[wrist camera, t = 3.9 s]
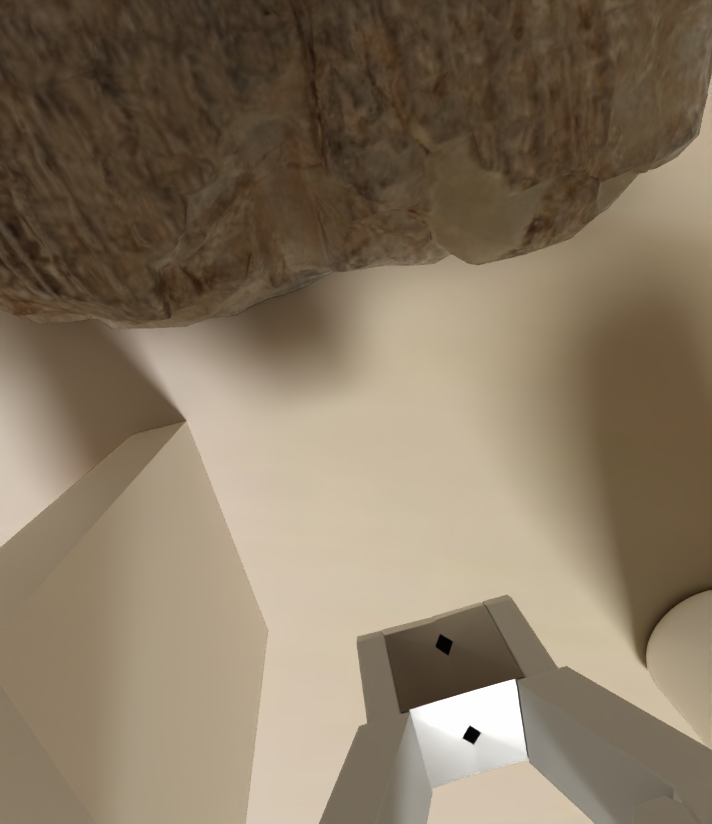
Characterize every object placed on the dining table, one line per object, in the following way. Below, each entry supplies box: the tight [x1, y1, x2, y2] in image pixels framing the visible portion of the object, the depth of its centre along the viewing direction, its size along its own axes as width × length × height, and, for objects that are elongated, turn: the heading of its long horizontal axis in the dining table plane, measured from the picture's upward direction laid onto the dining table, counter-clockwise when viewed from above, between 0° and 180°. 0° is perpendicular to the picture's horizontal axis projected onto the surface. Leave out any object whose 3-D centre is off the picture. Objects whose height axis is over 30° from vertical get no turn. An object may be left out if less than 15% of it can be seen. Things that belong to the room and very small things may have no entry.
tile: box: [0, 421, 268, 824], centre depth 9 cm, size 2×8×8 cm, turn 13°
